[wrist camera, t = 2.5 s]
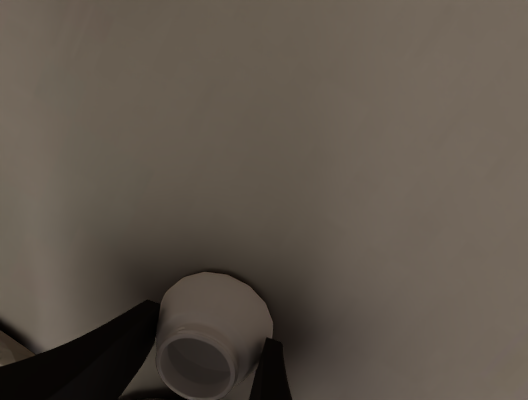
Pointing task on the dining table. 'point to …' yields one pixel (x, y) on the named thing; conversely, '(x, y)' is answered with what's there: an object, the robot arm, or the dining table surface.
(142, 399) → the bowl
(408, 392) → the dining table surface
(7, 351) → the packaged product
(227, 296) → the white jar
